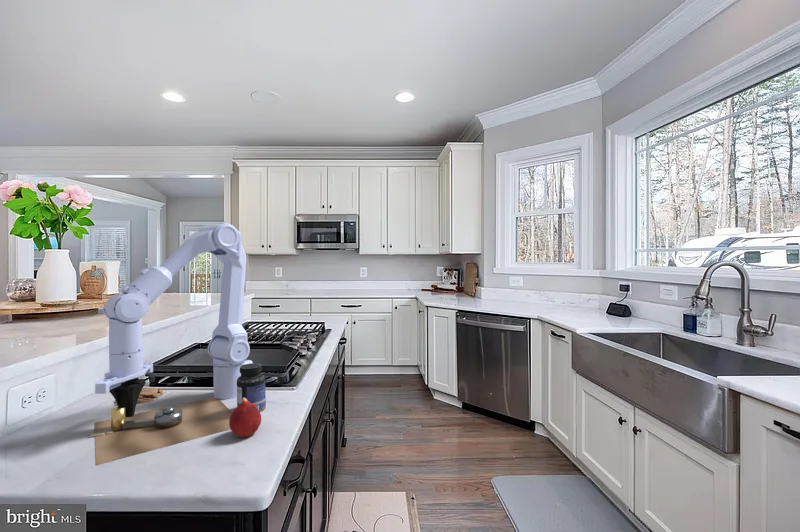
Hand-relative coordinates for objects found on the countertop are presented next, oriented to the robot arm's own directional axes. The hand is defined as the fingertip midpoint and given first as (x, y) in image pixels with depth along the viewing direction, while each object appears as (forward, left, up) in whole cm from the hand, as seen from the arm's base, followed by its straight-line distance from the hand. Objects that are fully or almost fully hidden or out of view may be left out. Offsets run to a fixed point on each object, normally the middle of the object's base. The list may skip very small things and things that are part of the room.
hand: (127, 416), depth 80 cm
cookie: (-4, -18, -3) cm, 19 cm away
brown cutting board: (-7, +5, -3) cm, 9 cm away
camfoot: (-3, +3, -1) cm, 5 cm away
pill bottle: (-23, +8, -3) cm, 24 cm away
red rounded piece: (-18, +20, -3) cm, 27 cm away
